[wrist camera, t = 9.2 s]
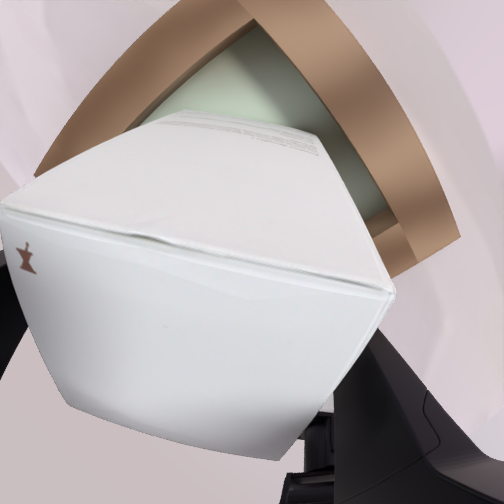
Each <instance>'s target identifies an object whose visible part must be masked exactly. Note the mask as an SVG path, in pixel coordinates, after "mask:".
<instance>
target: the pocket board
mask: <svg viewBox="0 0 504 504" xmlns="http://www.w3.org/2000/svg"><path fill="white" fill-rule="evenodd" d="M183 109H188V110H195V111H203V112H210V113H217V114H224V115H230V116H236V117H242V118H247V119H253V120H258V121H263V122H268V123H273V124H277V125H282V126H286V127H291V128H294V129H298V130H302V131H306V132H309V133H313V134H316V135H317V137H318V138H319V140H320V142H321V143H322V145H323V147H324V148H325V150H326V152H327V153H328V155H329V157H330V159H331V160H332V162H333V164H334V166H335V168H336V169H337V171H338V173H339V175H340V177H341V179H342V180H343V182H344V184H345V186H346V188H347V190H348V192H349V194H350V196H351V198H352V200H353V202H354V204H355V205H356V207H357V209H358V211H359V213H360V215H361V217H362V219H363V222H364V224H365V226H366V228H367V230H368V232H369V234H370V236H371V238H372V240H373V242H374V244H375V247H376V249H377V251H378V253H379V255H380V257H381V259H382V261H383V264H384V266H385V268H386V270H387V272H388V274H389V276H390V278H391V279H392V278H394V277H395V276H397V275H399V274H401V273H402V272H404V271H406V270H408V269H409V268H411V267H413V266H414V265H416V264H418V263H420V262H421V261H423V260H425V259H426V258H428V257H430V256H431V255H433V254H434V253H436V252H438V251H439V250H441V249H443V248H444V247H446V246H447V245H449V244H451V243H452V242H454V241H455V240H457V239H458V238H460V237H461V236H460V233H459V230H458V227H457V225H456V222H455V219H454V217H453V214H452V211H451V209H450V206H449V204H448V201H447V199H446V196H445V194H444V191H443V189H442V187H441V184H440V182H439V180H438V177H437V175H436V173H435V171H434V168H433V166H432V164H431V162H430V160H429V158H428V156H427V154H426V152H425V150H424V148H423V146H422V144H421V142H420V140H419V138H418V136H417V134H416V132H415V130H414V128H413V127H412V125H411V123H410V121H409V119H408V118H407V116H406V114H405V112H404V110H403V109H402V107H401V105H400V104H399V102H398V100H397V99H396V97H395V95H394V94H393V92H392V90H391V89H390V87H389V86H388V84H387V83H386V81H385V79H384V78H383V76H382V75H381V73H380V72H379V70H378V69H377V67H376V66H375V65H374V63H373V62H372V60H371V59H370V57H369V56H368V55H367V53H366V52H365V50H364V49H363V48H362V46H361V45H360V44H359V42H358V41H357V40H356V38H355V37H354V36H353V34H352V33H351V32H350V31H349V29H348V28H347V27H346V26H345V24H344V23H343V22H342V21H341V19H340V18H339V17H338V16H337V15H336V13H335V12H334V11H333V10H332V9H331V8H330V6H329V5H328V4H327V3H326V2H325V1H324V0H180V1H179V2H178V3H177V4H176V5H174V6H173V7H172V8H171V9H170V10H169V11H167V12H166V13H165V14H164V15H163V16H162V17H161V18H159V19H158V20H157V21H156V22H155V23H154V24H153V25H152V26H151V27H150V28H149V29H148V30H147V31H145V32H144V33H143V34H142V35H141V36H140V37H139V38H138V39H137V40H136V41H135V42H134V43H133V44H132V45H131V46H130V47H129V48H128V49H127V50H126V52H125V53H124V54H123V55H122V56H121V57H120V58H119V59H118V60H117V61H116V62H115V63H114V64H113V66H112V67H111V68H110V69H109V70H108V71H107V72H106V74H105V75H104V76H103V77H102V78H101V79H100V81H99V82H98V83H97V84H96V85H95V87H94V88H93V89H92V90H91V91H90V93H89V94H88V95H87V97H86V98H85V99H84V100H83V102H82V103H81V104H80V106H79V107H78V108H77V110H76V111H75V112H74V114H73V115H72V116H71V118H70V119H69V120H68V122H67V123H66V125H65V126H64V128H63V129H62V130H61V132H60V133H59V135H58V136H57V138H56V139H55V141H54V142H53V144H52V145H51V147H50V149H49V150H48V152H47V153H46V155H45V157H44V158H43V160H42V161H41V163H40V165H39V167H38V168H37V170H36V172H35V173H34V176H35V177H36V178H37V177H38V176H40V175H42V174H43V173H45V172H47V171H49V170H51V169H52V168H54V167H56V166H58V165H60V164H62V163H63V162H65V161H67V160H69V159H71V158H73V157H75V156H77V155H79V154H81V153H83V152H85V151H87V150H89V149H91V148H93V147H95V146H97V145H99V144H101V143H103V142H105V141H108V140H110V139H112V138H114V137H116V136H119V135H121V134H123V133H125V132H127V131H130V130H132V129H135V128H137V127H140V126H142V125H144V124H147V123H149V122H152V121H154V120H157V119H159V118H162V117H165V116H167V115H170V114H172V113H176V112H178V111H181V110H183Z"/></svg>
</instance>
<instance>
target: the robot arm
mask: <svg viewBox="0 0 504 504" xmlns="http://www.w3.org/2000/svg"><path fill="white" fill-rule="evenodd" d="M27 328H28V324H27V321H26V319H25V316H24V314H23V311H22V308H21V306H20V303H19V300H18V297H17V294H16V291H15V289H14V286H13V282H12V279H11V276H10V272H9V269H8V265H7V261H6V257H5V253H4V250H1V251H0V380H1V378H2V375H3V373H4V371H5V369H6V367H7V365H8V363H9V361H10V359H11V357H12V356H13V354H14V352H15V350H16V348H17V346H18V344H19V342H20V341H21V339H22V337H23V335H24V333H25V332H26V330H27ZM333 396H334V414H332V413H322V412H318V413H317V414H316V415H315V417H314V418H313V419H312V421H311V422H310V423H309V425H308V426H307V427H306V429H305V430H304V431H303V432H302V433H301V435H300V436H299V437H298V438H297V439H301V440H305V447H304V472H303V473H287V475H286V478H285V481H284V485H283V490H282V495H281V499H280V503H279V504H504V461H499V460H496V459H493V458H490V457H489V456H487V455H486V454H484V453H483V452H482V451H481V450H480V449H479V448H478V447H477V446H476V445H475V444H474V443H473V442H472V441H471V439H470V438H469V437H468V436H467V435H466V434H465V433H464V432H463V430H462V429H461V428H460V427H459V426H458V425H457V424H456V423H455V422H454V420H453V419H452V418H451V417H450V416H449V415H448V414H447V412H446V411H445V410H444V409H443V408H442V406H441V405H440V404H439V403H438V401H437V400H436V399H435V398H434V396H433V395H432V394H431V393H430V391H429V390H427V388H426V386H425V385H424V384H423V383H422V381H421V380H420V379H419V378H418V376H417V375H416V374H415V373H414V371H413V370H412V369H411V368H410V366H409V365H408V364H407V363H406V361H405V360H404V359H403V358H402V356H401V355H400V354H399V353H398V352H397V350H396V349H395V348H394V347H393V346H392V344H391V343H390V342H389V341H388V339H387V338H386V337H385V336H384V335H383V333H382V332H381V331H380V330H379V329H378V328H377V329H376V331H375V332H374V334H373V336H372V337H371V339H370V340H369V342H368V343H367V345H366V346H365V348H364V350H363V351H362V353H361V354H360V355H359V357H358V358H357V360H356V361H355V363H354V364H353V365H352V367H351V368H350V370H349V371H348V372H347V374H346V375H345V376H344V378H343V379H342V381H341V382H340V383H339V385H338V386H337V387H336V389H335V390H334V391H333Z"/></svg>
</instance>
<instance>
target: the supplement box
mask: <svg viewBox="0 0 504 504" xmlns="http://www.w3.org/2000/svg"><path fill="white" fill-rule="evenodd" d="M0 233H1V239H2V244H3V249H4V253H5V257H6V261H7V265H8V269H9V272H10V276H11V279H12V282H13V286H14V289H15V291H16V294H17V297H18V300H19V303H20V306H21V308H22V311H23V314H24V316H25V319H26V321H27V324H28V326H29V329H30V331H31V333H32V336H33V338H34V340H35V342H36V345H37V347H38V349H39V352H40V354H41V356H42V358H43V360H44V362H45V364H46V366H47V368H48V370H49V372H50V374H51V376H52V378H53V380H54V382H55V384H56V386H57V388H58V390H59V392H60V393H61V395H62V397H63V398H64V400H65V401H66V403H67V404H68V405H70V406H71V407H73V408H76V409H78V410H81V411H83V412H86V413H89V414H91V415H93V416H96V417H99V418H101V419H104V420H107V421H110V422H112V423H115V424H118V425H121V426H124V427H127V428H130V429H133V430H136V431H139V432H142V433H146V434H149V435H153V436H156V437H159V438H163V439H166V440H170V441H174V442H178V443H181V444H186V445H190V446H194V447H199V448H203V449H208V450H213V451H218V452H223V453H228V454H235V455H241V456H246V457H253V458H260V459H267V460H273V461H279V460H280V459H281V457H282V456H283V455H284V454H285V453H286V452H287V451H288V449H289V448H290V447H291V446H292V445H293V443H294V442H295V441H296V440H297V438H298V437H299V436H300V435H301V433H302V432H303V431H304V430H305V429H306V427H307V426H308V425H309V423H310V422H311V421H312V419H313V418H314V417H315V415H316V414H317V413H318V411H319V410H320V409H321V407H322V406H323V404H324V403H325V401H326V400H327V399H328V398H329V396H330V395H331V394H332V392H333V391H334V390H335V389H336V387H337V386H338V385H339V383H340V382H341V381H342V379H343V378H344V376H345V375H346V374H347V372H348V371H349V370H350V368H351V367H352V365H353V364H354V363H355V361H356V360H357V358H358V357H359V355H360V354H361V353H362V351H363V350H364V348H365V346H366V345H367V343H368V342H369V340H370V339H371V337H372V336H373V334H374V332H375V331H376V329H377V328H378V326H379V324H380V323H381V321H382V320H383V318H384V316H385V315H386V313H387V312H388V310H389V309H390V307H391V305H392V304H393V302H394V301H395V298H396V289H395V287H394V285H393V282H392V280H391V278H390V276H389V274H388V272H387V270H386V268H385V266H384V264H383V261H382V259H381V257H380V255H379V253H378V251H377V249H376V247H375V244H374V242H373V240H372V238H371V236H370V234H369V232H368V230H367V228H366V226H365V224H364V222H363V219H362V217H361V215H360V213H359V211H358V209H357V207H356V205H355V204H354V202H353V200H352V198H351V196H350V194H349V192H348V190H347V188H346V186H345V184H344V182H343V180H342V179H341V177H340V175H339V173H338V171H337V169H336V168H335V166H334V164H333V162H332V160H331V159H330V157H329V155H328V153H327V152H326V150H325V148H324V147H323V145H322V143H321V142H320V140H319V138H318V137H317V135H316V134H313V133H309V132H306V131H302V130H298V129H294V128H291V127H286V126H282V125H277V124H273V123H268V122H263V121H258V120H253V119H247V118H242V117H236V116H230V115H224V114H217V113H210V112H203V111H195V110H188V109H183V110H181V111H178V112H176V113H172V114H170V115H167V116H165V117H162V118H159V119H157V120H154V121H152V122H149V123H147V124H144V125H142V126H140V127H137V128H135V129H132V130H130V131H127V132H125V133H123V134H121V135H119V136H116V137H114V138H112V139H110V140H108V141H105V142H103V143H101V144H99V145H97V146H95V147H93V148H91V149H89V150H87V151H85V152H83V153H81V154H79V155H77V156H75V157H73V158H71V159H69V160H67V161H65V162H63V163H62V164H60V165H58V166H56V167H54V168H52V169H51V170H49V171H47V172H45V173H43V174H42V175H40V176H38V177H37V178H35V179H33V180H32V181H30V182H28V183H27V184H25V185H23V186H22V187H20V188H19V189H17V190H16V191H14V192H12V193H11V194H10V195H8V196H6V197H5V198H4V199H2V200H1V201H0Z"/></svg>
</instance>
